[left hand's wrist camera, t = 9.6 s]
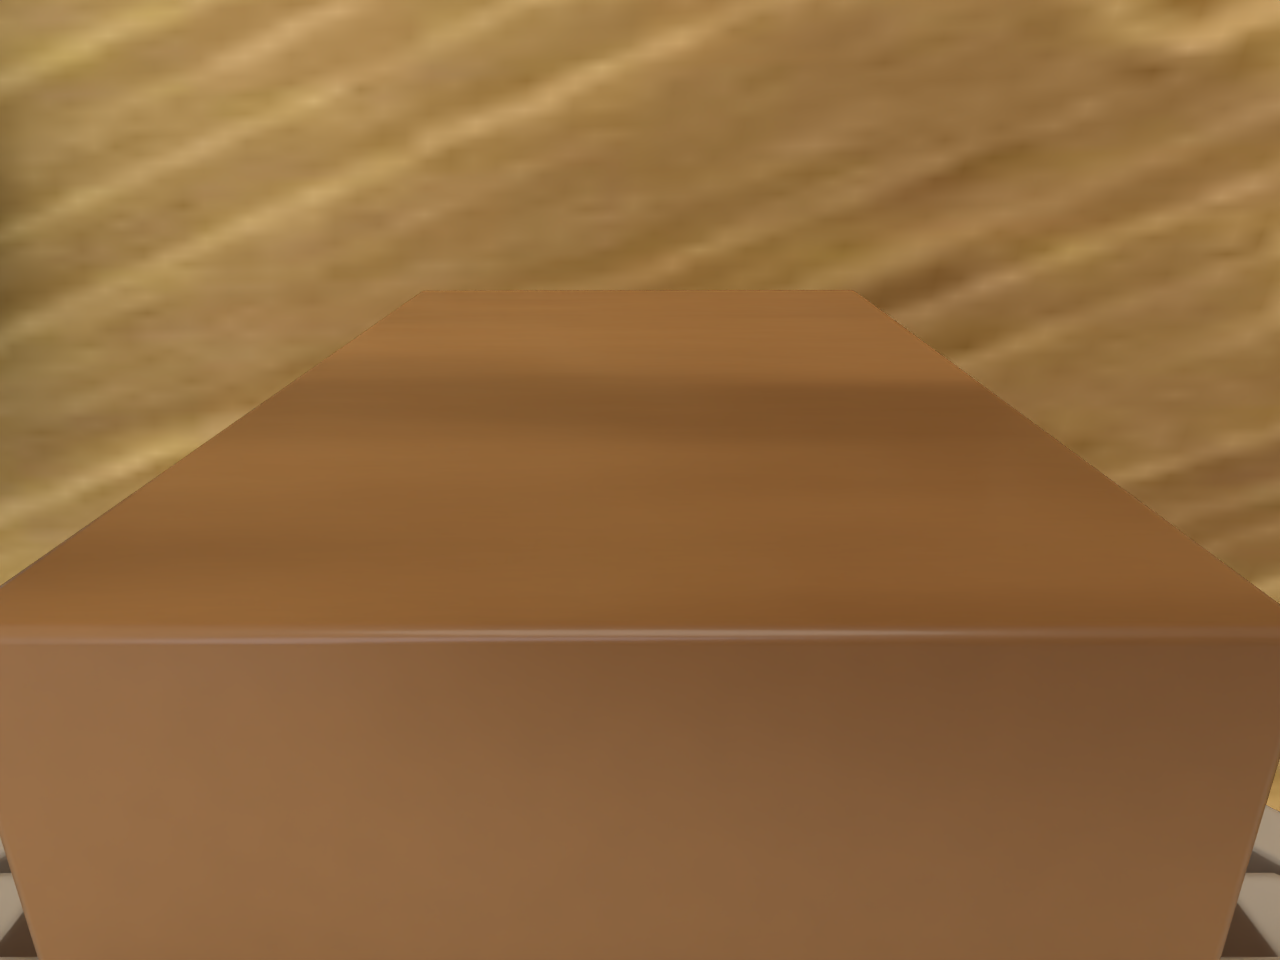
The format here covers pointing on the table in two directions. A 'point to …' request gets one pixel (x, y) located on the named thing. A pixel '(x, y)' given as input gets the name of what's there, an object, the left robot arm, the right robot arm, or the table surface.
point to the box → (633, 663)
